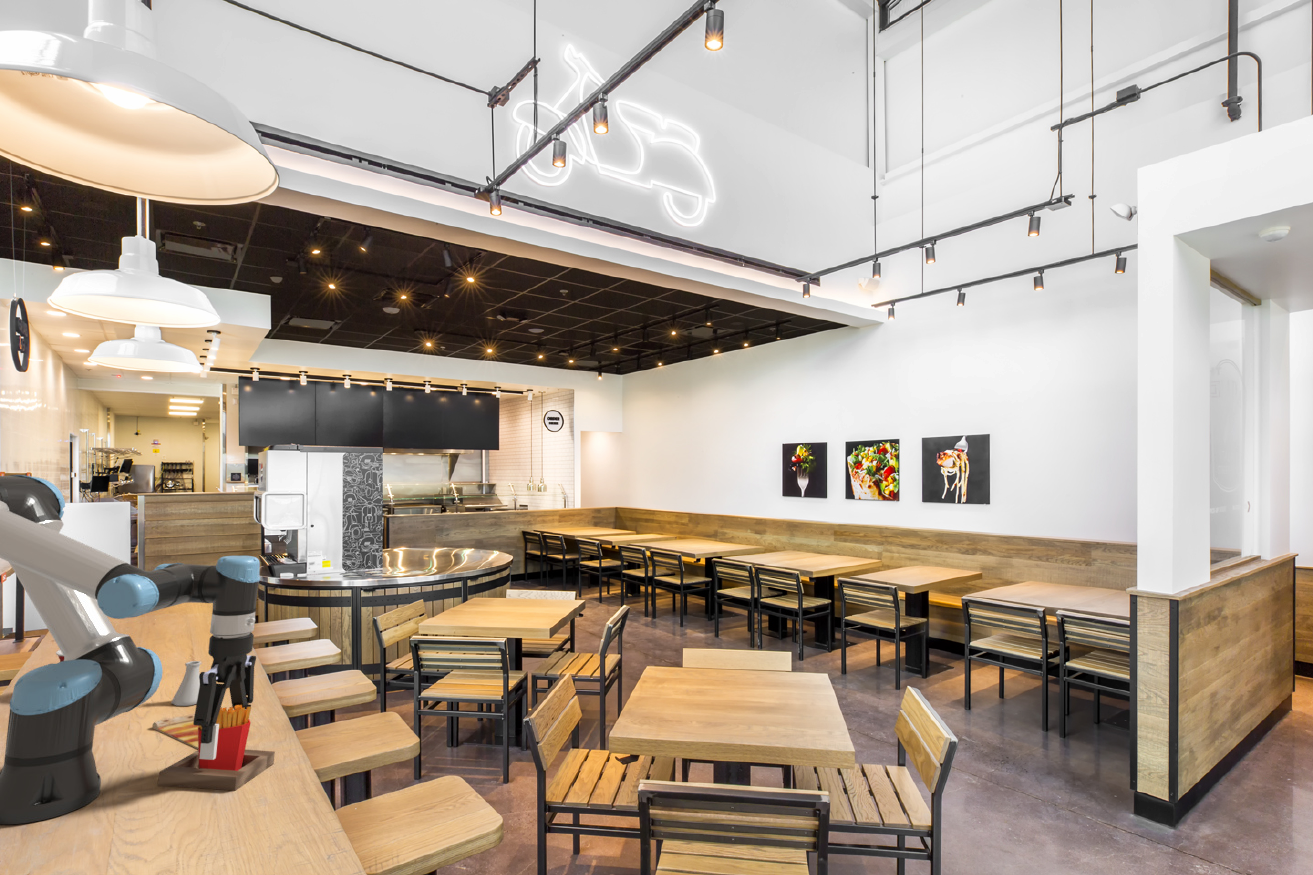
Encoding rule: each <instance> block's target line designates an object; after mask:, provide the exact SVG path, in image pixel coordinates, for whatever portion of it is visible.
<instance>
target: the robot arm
mask: <svg viewBox="0 0 1313 875" xmlns="http://www.w3.org/2000/svg"><path fill="white" fill-rule="evenodd" d="M65 507H66V501H65V498H64V496H63V493H62V491H61V490H60V489H59V488H58V487H57V486H56V485H55V484H54V483H52V482H51V481H49V480H47V479H44V478H42V477H41V478H40V477H36V476H30V475H24V474H23V475H22V474H12V475H0V559H1V560H3V561H6V562H8V563H9V565H10V566H11V568H12V571H14V574H15V576H16V577H17V578H18V581H19V583H20V584H21V586H22V587H23V588H24V590H25V592H26V593H27V595H28V597H29V600H31V602H32V604H33V606H34V608H35V609H36V611H37V613H38V614H39V616H40V618H41V619H42V621H43V623H44V624H45V626H46V628H47V630H48V631H49V633H50V635H51V636H52V638H53V640H54V642H55V644H57V647H58V649H59V650H61V652H62V654H63V655H64V661H62V662H60V661H59V662H57V663H48V664H46V665H41V666H39V667H36V668H33V669H31V670H30V671H28V672H26V673H24V674H23V675H22V676H20V677H19V678H18V679H17V681H16V682H15V684H14V686H13V690H12V695H11V697H10V700H9V714H8V715H9V716H8V724H7V732H6V743H5V744H6V745H5V752H4V754H5V755H4V761H3V762H4V763H3V767H2V769H1V770H0V825H17V824H19V825H21V824H27V823H33V822H34V823H35V822H40V821H44V820H48V819H52V818H56V817H60V816H63V815H66V814H68V813H71V812H74V811H76V810H78V809H81V808H83V807H85V806H86V805H88V804H90V803H91V802H93V801H94V800H95V799H96V798H98V796H99V795H100V792H101V784H102V778H101V776H100V774H99V772H98V771H97V765H96V760H95V756H94V753H93V747H94V746H93V745H94V738H95V737H94V736H95V728H96V726H97V725H100V724H102V723H104V722H106V721H108V720H110V719H112V718H115V717H117V716H119V715H121V714H124V713H128V712H130V711H133V710H134V709H136V708H137V707H139V706H140V705H143V704H144V703H146V702H147V701H148V700H149V699H151V698H152V697H153V696H154V695H155V693H156V692H157V690H158V689H159V687H160V683H161V681H162V679H163V673H164V672H163V671H164V670H163V664H162V661H161V659H160V657H159V655H158V654H156V653H155V652H154V651H153V650H152V649H150V648H149V649H148V648H145V647H141V646H136V644H135V643H134V641H133V638H132V637H131V636H130V635H129V634H125V633H120V632H118V631H116V630H115V627H114V625H113V624H112V622H111V620H110V619H109V618H111V619H118V620H121V619H122V620H123V619H129V618H131V619H132V618H137V617H139V616H143V615H145V614H150V613H152V612H157V611H159V610H163V609H167V608H171V607H175V606H177V605H178V606H179V605H182V604H185V603H187V604H188V603H189V604H190V603H193V604H194V603H196V604H198V603H200V604H201V603H202V604H212V611H211V612H212V613H211V621H210V628H209V633H210V634H211V635H212V636H210V637H209V641H208V642H209V643H208V652H207V653H208V655H209V656H210V657H211V658H212V659H213V660H212V663H211V666H210V669H209V670H207V671H201V672H199V674H200V675H199V680H200V687H199V693H198V699H197V704H195V711H194V714H195V716H194V722H193V724H194V725H198V726H202V731H201V748H200V759H208V760H214V759H215V758H216V751H217V741H218V730H219V724H216V721H217V718H218V715H219V711H220V708H222V705H223V702H224V699H225V694H226V692H227V689H229V695H230V700H231V701H230V702H231V707H233V710H234V706H236V705H242V708H245V710H246V709H247V707H251V708H252V705H251V704H253V702H254V683H255V665H256V662H257V656H256V655H248V654H250V653H251V652H252V651H253V648H254V634H253V633H252V632H253V631H255V623H256V611H257V610H256V609H257V602H258V601H257V599H258V594H259V593H258V592H259V583H260V581H261V576H260V569H261V568H260V563H261V562H260V560H259V558H258V557H256V556H252V555H226V556H221V557H220V558H218V560H217V561H216V565H209V564H207V565H206V564H205V565H204V564H189V563H182V562H176V563H162V564H159V565H157V566H156V567H155V568H154V569H152V570H145V569H142V568H140V567H137V566H135V565H132V564H130V563H128V562H126V561H123V560H122V559H119V558H116V557H115V556H113V555H110V554H107V553H106V552H103V551H100V550H98V549H96V548H95V547H92V546H89V545H88V544H85V543H83V542H80V541H78V540H76V539H74V538H71V537H69V536H67V535H65V534H63V533H60V532H61V530H62V529H63V526H64V522H63V520H62V518H63V516H64V513H65V511H64V508H65Z"/></svg>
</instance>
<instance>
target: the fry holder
mask: <svg viewBox="0 0 1313 875" xmlns="http://www.w3.org/2000/svg"><path fill="white" fill-rule="evenodd" d="M275 752H276V751H271V750H257V749H246V748H245V752H244V757H243V762H242V767H241V769H239V770H238V771H233V770H218V769H204V768H199V755H198V750H196V751H195V752H193V753H191V754H189V755H187V756H186V757H183V758H181V759H179V760H178V761H177V762H174V763H172V764H170V765H169V766H167V767H165V768H164V769H162V770H160V771H159V774H158V783H157V786H162V787H164V786H165V787H178V788H191V789H207V790H221V791H223V790H224V791H237V790H238V789H239V788H241V787H242V786H244V785H245V784H247V783H249V782H250V781H252V779H254V778H255V777H257V776H258V775H261V773H262V772H264V771H265V770H267V769H268V768H270V767H272V766H273V765H274V764H275V763H274V762H275Z"/></svg>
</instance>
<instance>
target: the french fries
mask: <svg viewBox="0 0 1313 875" xmlns="http://www.w3.org/2000/svg"><path fill="white" fill-rule="evenodd" d="M251 710H252V706H251V707H247V709H246V710H245V708H242V705H236V706H234V709H233V707H232V706H230V707H229V708H228V709H227V707H221V708H220V711H219V715H218V718H217V721H216V724H219V730H218V741H217V751H216V758H215V759H214V760H208V759H200V748H201V731H202V726H199V727H198V749H197V751H198V755H199V767H198V768H204V769H218V770H233V771H238V770H239V769H241V768H243V767H242V762H243V757H244V752H245V749H246V746H247V743H248V742H247V741H248V737H249V732H250V728H251V723H252V722H251V720H250V719H249V718H250V713H251Z"/></svg>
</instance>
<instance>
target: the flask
mask: <svg viewBox="0 0 1313 875" xmlns="http://www.w3.org/2000/svg"><path fill="white" fill-rule="evenodd" d="M184 665H185V672H184V673H185V674H184V675H183V678H182V681H181V683H180V684H179V687H178V689H177V691H176V693H175V694H174V696H173V698H172V700H171V701H170V703H171V704H172V705H174V706H178V707H179V706H181V707H183V706H184V707H188V706H193V705H196V704H197V699H198V693H199V687H200V680H199V675H200V665H202V661H199V660H192V661H188V662H185V664H184Z"/></svg>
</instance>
